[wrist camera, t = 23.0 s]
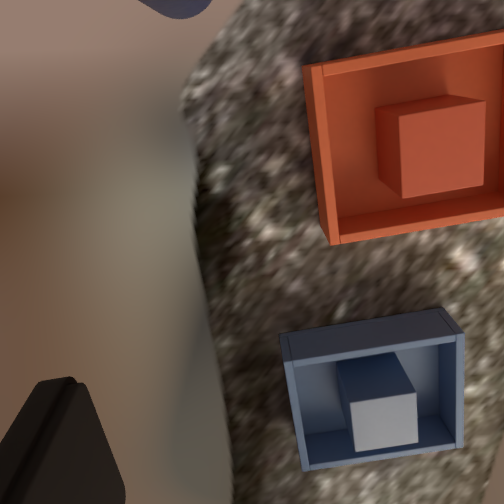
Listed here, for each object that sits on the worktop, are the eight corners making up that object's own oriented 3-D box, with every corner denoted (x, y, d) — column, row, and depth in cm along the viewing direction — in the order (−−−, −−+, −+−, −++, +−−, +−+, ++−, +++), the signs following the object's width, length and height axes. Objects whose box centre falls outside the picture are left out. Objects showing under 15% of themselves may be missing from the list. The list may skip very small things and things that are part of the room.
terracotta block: (378, 179, 29) (401, 199, 25) (373, 107, 28) (398, 115, 24) (448, 167, 29) (484, 185, 25) (448, 93, 28) (486, 100, 23)
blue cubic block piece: (341, 408, 36) (354, 452, 32) (335, 361, 35) (349, 402, 31) (397, 399, 36) (418, 443, 32) (395, 352, 35) (416, 391, 30)
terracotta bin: (320, 226, 31) (330, 246, 28) (301, 65, 27) (310, 66, 24) (502, 195, 31) (533, 211, 27) (509, 27, 27) (547, 23, 24)
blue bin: (296, 437, 38) (302, 472, 35) (278, 333, 34) (283, 362, 31) (444, 414, 38) (463, 447, 34) (443, 306, 34) (465, 332, 31)
